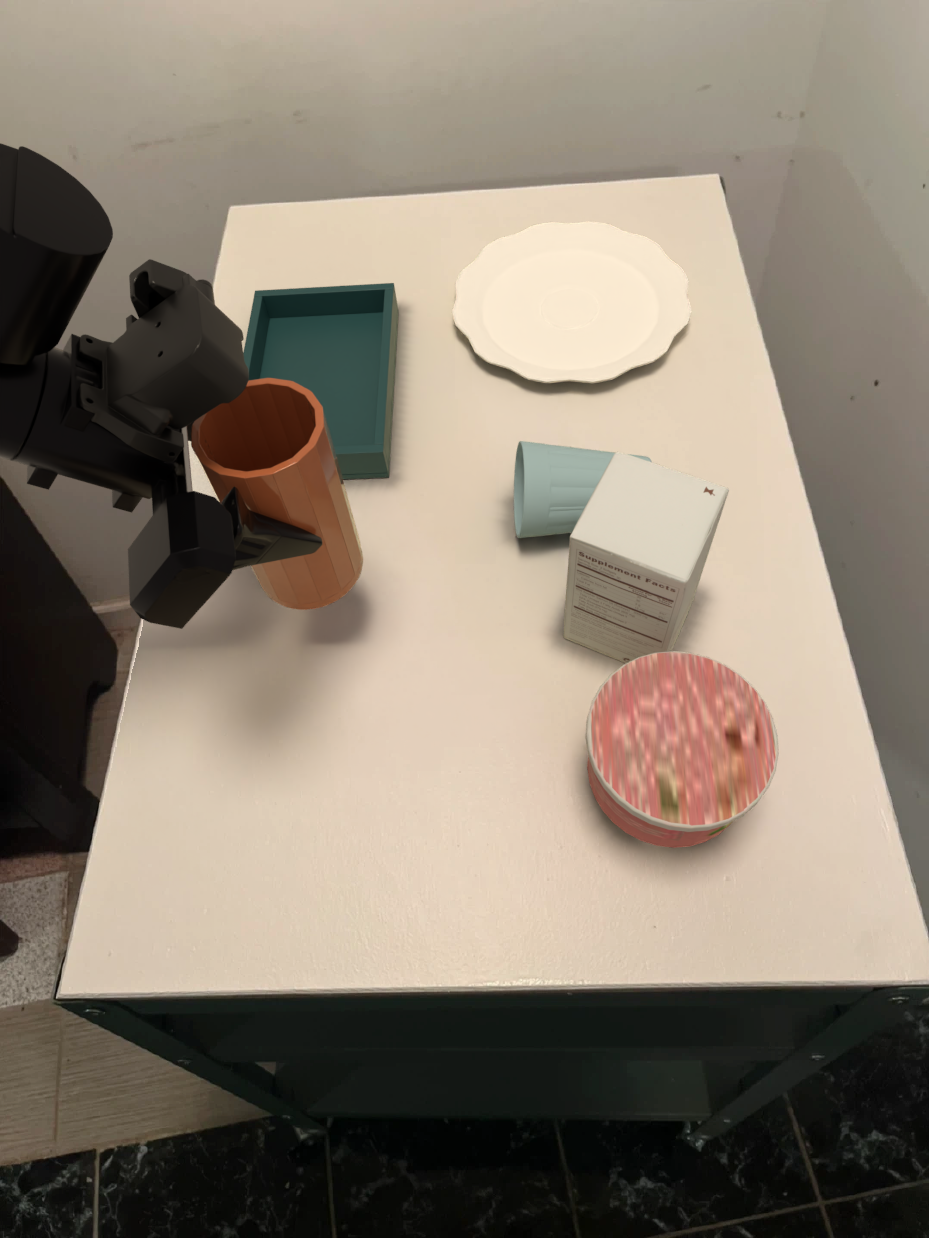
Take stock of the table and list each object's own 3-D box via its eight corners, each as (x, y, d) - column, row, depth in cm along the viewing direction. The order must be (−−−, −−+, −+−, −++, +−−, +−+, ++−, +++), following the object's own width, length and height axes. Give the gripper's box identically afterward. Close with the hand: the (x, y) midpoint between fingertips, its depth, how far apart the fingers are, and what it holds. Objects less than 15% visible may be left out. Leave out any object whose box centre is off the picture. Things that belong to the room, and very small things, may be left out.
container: (581, 862, 51) (590, 825, 44) (576, 704, 56) (583, 649, 49) (756, 865, 50) (793, 829, 43) (734, 705, 55) (765, 650, 48)
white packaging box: (600, 560, 61) (616, 445, 50) (696, 597, 59) (735, 485, 48) (558, 639, 58) (565, 535, 47) (658, 681, 56) (689, 582, 45)
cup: (629, 492, 66) (510, 491, 66) (648, 422, 60) (519, 420, 60) (643, 557, 62) (517, 556, 61) (665, 488, 56) (526, 487, 56)
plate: (735, 339, 72) (739, 324, 70) (522, 429, 68) (522, 415, 67) (609, 210, 81) (610, 195, 80) (417, 284, 78) (415, 268, 76)
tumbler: (284, 628, 52) (220, 498, 41) (241, 552, 56) (171, 412, 44) (381, 578, 54) (346, 439, 43) (334, 507, 57) (290, 360, 46)
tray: (388, 477, 67) (383, 452, 64) (235, 484, 67) (223, 459, 65) (398, 311, 76) (393, 282, 74) (264, 318, 77) (254, 290, 74)
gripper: (95, 437, 30) (426, 545, 40) (91, 147, 39) (361, 296, 49) (-6, 601, 36) (303, 657, 46) (12, 318, 45) (265, 417, 55)
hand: (309, 497), depth 49 cm, fingers closed on tumbler, 7 cm apart
